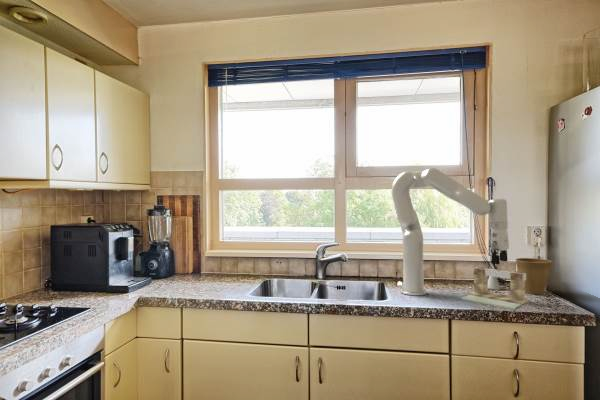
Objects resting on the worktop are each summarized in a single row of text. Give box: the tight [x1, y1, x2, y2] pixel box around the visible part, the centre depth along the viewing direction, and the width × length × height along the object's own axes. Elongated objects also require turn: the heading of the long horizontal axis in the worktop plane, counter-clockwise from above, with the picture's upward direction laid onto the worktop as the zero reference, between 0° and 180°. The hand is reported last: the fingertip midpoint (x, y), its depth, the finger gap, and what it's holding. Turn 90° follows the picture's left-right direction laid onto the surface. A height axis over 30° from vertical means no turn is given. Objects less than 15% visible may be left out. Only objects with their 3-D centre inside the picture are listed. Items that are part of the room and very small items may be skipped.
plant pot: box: [515, 257, 552, 295], centre depth 182 cm, size 15×15×16 cm
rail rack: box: [470, 266, 529, 305], centre depth 173 cm, size 22×8×13 cm, turn 42°
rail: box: [472, 266, 526, 281], centre depth 173 cm, size 22×3×3 cm, turn 42°
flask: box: [488, 268, 501, 291], centre depth 191 cm, size 7×7×10 cm
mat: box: [461, 294, 521, 310], centre depth 166 cm, size 22×8×1 cm, turn 42°
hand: (499, 262), depth 173 cm, fingers open, 9 cm apart
